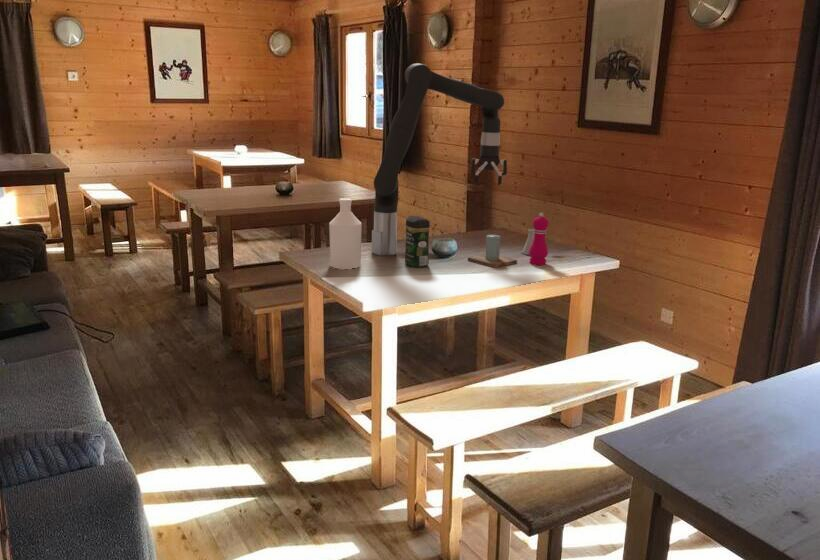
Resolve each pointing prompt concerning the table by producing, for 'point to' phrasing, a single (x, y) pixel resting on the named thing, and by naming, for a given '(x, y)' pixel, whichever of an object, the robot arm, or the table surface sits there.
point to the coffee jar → (417, 241)
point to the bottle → (345, 238)
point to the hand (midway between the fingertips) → (487, 184)
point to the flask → (528, 242)
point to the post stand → (492, 261)
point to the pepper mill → (539, 241)
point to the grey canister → (492, 247)
